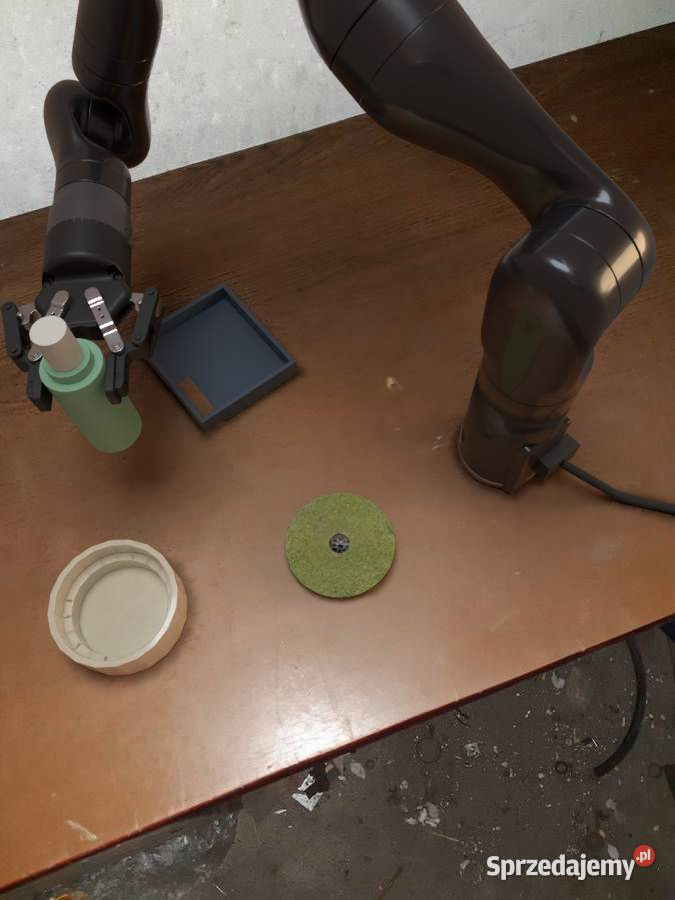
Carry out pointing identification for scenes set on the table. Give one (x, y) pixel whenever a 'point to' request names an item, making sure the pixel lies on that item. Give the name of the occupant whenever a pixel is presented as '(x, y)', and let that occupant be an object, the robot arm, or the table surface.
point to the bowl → (117, 607)
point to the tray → (220, 355)
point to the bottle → (83, 386)
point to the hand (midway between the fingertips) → (77, 402)
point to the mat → (340, 545)
